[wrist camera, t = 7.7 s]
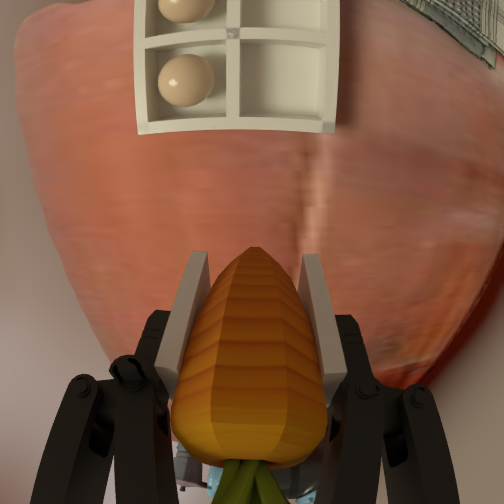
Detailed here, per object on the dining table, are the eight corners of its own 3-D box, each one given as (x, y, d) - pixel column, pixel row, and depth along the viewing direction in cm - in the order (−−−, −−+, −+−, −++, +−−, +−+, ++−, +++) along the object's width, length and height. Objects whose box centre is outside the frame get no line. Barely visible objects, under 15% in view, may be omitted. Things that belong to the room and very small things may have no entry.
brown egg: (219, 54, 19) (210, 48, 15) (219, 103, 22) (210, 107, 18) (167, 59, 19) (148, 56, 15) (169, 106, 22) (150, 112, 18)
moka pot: (167, 422, 64) (155, 484, 48) (222, 430, 64) (216, 494, 48) (172, 432, 69) (162, 488, 53) (222, 439, 70) (217, 497, 53)
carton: (328, -25, 14) (337, -38, 11) (324, 127, 23) (334, 134, 20) (151, -20, 14) (137, -31, 11) (152, 127, 23) (138, 134, 20)
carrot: (283, 197, 14) (320, 590, 1) (309, 271, 16) (346, 553, 4) (196, 228, 15) (106, 548, 3) (232, 293, 18) (206, 552, 5)
